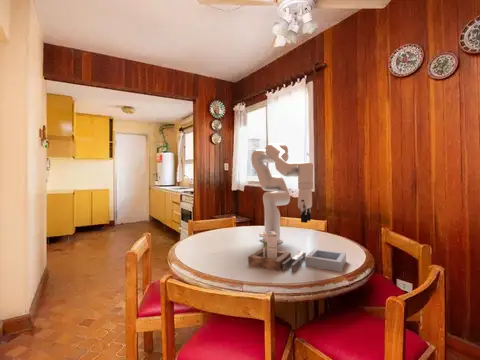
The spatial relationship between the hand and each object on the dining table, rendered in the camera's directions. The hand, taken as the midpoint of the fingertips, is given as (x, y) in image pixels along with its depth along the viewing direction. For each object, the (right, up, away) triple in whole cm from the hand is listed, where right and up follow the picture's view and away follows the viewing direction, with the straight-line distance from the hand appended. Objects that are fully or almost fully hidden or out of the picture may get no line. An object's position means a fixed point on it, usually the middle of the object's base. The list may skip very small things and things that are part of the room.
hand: (305, 221), depth 134 cm
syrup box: (-20, -18, -12) cm, 29 cm away
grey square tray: (+6, -18, -13) cm, 23 cm away
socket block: (-17, -18, -13) cm, 28 cm away
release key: (-6, -18, -10) cm, 21 cm away
